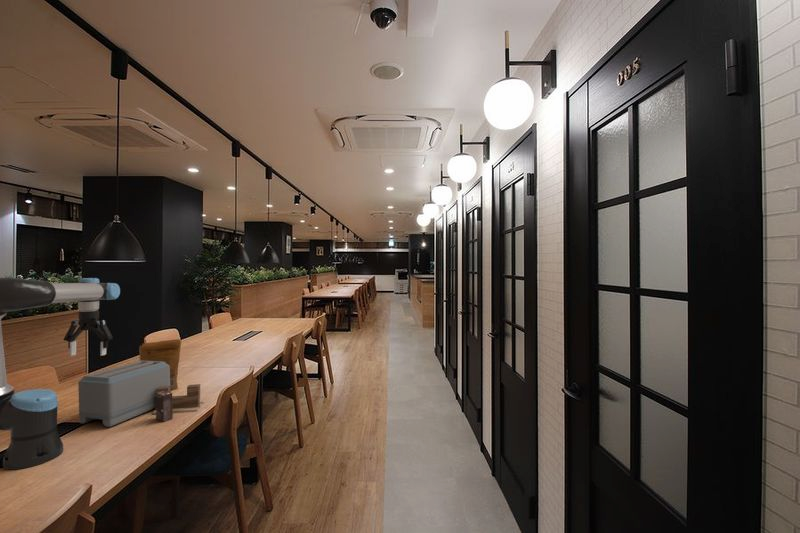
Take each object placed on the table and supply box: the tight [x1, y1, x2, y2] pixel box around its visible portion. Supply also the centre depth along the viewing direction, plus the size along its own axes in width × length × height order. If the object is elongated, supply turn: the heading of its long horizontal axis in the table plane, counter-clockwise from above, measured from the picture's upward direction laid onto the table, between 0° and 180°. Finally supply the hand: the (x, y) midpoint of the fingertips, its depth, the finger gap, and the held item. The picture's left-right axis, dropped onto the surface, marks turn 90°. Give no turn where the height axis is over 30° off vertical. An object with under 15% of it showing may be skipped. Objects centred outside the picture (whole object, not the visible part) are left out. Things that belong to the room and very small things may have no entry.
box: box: [155, 391, 174, 423], centre depth 162 cm, size 6×4×12 cm
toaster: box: [77, 360, 170, 428], centre depth 170 cm, size 19×33×20 cm, turn 164°
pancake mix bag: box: [138, 338, 182, 392], centre depth 197 cm, size 7×19×28 cm, turn 122°
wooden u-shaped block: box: [151, 383, 204, 416], centre depth 174 cm, size 10×19×11 cm, turn 104°
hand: (88, 355), depth 171 cm, fingers open, 13 cm apart
